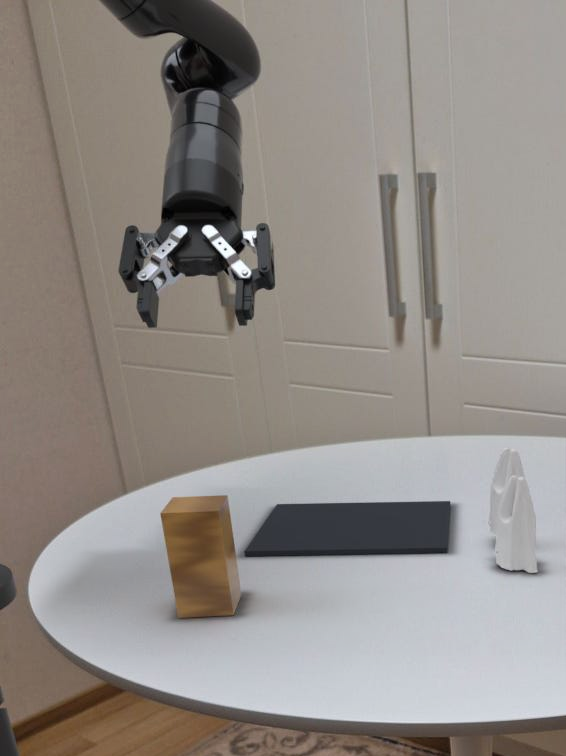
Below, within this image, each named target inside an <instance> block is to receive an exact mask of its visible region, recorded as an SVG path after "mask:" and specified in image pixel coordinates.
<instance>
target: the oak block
mask: <svg viewBox="0 0 566 756" xmlns="http://www.w3.org/2000/svg"><path fill="white" fill-rule="evenodd" d="M160 519H161V520H160V521H161V527H162V532H163V537H164V543H165V549H166V554H167V560H168V566H169V572H170V577H171V583H172V584H171V585H172V590H173V596H174V601H175V606H176V607H175V608H176V612H177V618H178V619H189V618H206V617H225V616H226V617H227V616H234V615H235V613H236V610H237V607H238V604H239V602H240V599H241V597H242V590H241V583H240V577H239V576H240V575H239V567H238V559H237V554H236V553H237V552H236V546H235V539H234V532H233V524H232V517H231V510H230V504H229V496H228V494H224V495H222V494H220V495H199V496H197V495H196V496H194V495H193V496H173V497H172V498H171V499H170V500H169V502H168V503H167V504H166V505H165V506H164V508H163V509H162V510H161V512H160Z"/></svg>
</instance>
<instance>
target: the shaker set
mask: <svg viewBox="0 0 566 756" xmlns="http://www.w3.org/2000/svg"><path fill="white" fill-rule="evenodd" d="M489 497H490V499H489V517H488V522H487V524H488V526H489V532H490V533H491V534H492V536H493V537H494V538H495V545H494V551H493V554H494V555H495V563H496V565H498V566H499V567H500V568H502V569H503V570H504V569H505V570H508V571H515V572H516V571H522V570H523V571H525V572H527V574H536V573H538V572H539V571H538V563H537V554H536V544H537V543H536V542H537V541H536V539H537V536H536V535H537V534H536V533H537V517H536V511H535V508H534V504H533V499H532V495H531V491H530V487H529V484H528V481H527V480H526V475H525V470H524V467H523V463H522V459H521V455H520V452H519V451H518V449H516V448H510V447H504V448H503V450H502V451H501V453H500V455H499V458H498V459H497V462H496V466H495V468H494V471H493V476H492V479H491V484H490V496H489Z"/></svg>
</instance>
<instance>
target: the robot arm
mask: <svg viewBox="0 0 566 756" xmlns="http://www.w3.org/2000/svg"><path fill="white" fill-rule="evenodd" d="M98 1H99V3H100V4H101V5H102V6H103V7H104V8H106V10H107V11H108V12H109V13H110V14H111V15H112V16H113V17H114V18H115V19H116V20H117V21H118V22H119V23H120V24H121V25H122V26H123V27H124V28H125V29H126V30H127V31H129V33H131V34H132V35H133V36H135V37H136V38H137V39H138V38H139V39H141V40H149V39H152V38H156V37H159V36H162V35H165V34H176V35H178V36H181V38H180V39H178V41H176V42H175V43H174V44H172V45H171V46H169V48H168V49H167V51H166V52H165V53H164V56H163V58H162V61H161V65H160V69H159V70H160V71H159V72H160V73H159V74H160V80H161V83H162V86H163V91H164V94H165V98H166V102H167V103H166V104H167V105H168V109H169V113H170V116H171V121H170V133H169V145H168V148H167V152H166V155H165V156H166V157H165V161H164V162H165V163H164V174H163V186H162V187H163V188H162V197H161V198H162V199H161V212H160V224H159V226H158V228H157V229H156V230H155V232H140V231H139V228H138V226H136V225H135V224H133V225H128V226H127V227H125V229H124V236H123V241H122V248H121V252H120V257H119V258H120V259H119V264H118V269H117V270H118V271H117V272H118V274H119V276H120V278H121V280H122V282H123V285H124V287H125V288H126V290H127V292H128V293H130V294H136V293H137V297H136V307H135V308H136V310H137V313H138V315H139V317H140V319H141V321H142V323H145V324H146V326H147V328H148V329H155V328H157V327H158V317H159V305H160V297H159V294H161V292H162V291H163V290H164V289H166V288H167V286H170V287H171V286H172V287H173V285H174V284H175V283H177V281H178V280H179V279H181V277H182V276H183V275H184V277H187V278H188V277H192V278H193V277H198V276H201V275H203V276H207V277H218V274H220V273H223V274H224V275H225V276H226V277H227V278H228V279H229V281H231V282H232V284H233V285H235V296H234V314H235V318H236V321H237V323H238V326H239V327H247V326H248V321H252V320H253V318H254V316H255V302H256V294H257V292H258V291H259V290H262V289H264V290H265V291H271V290H274V289H275V287H276V271H275V251H274V250H275V248H274V242H273V238H272V233H271V231H270V227H269V225H268V223H266V222H261V223H258V224H257V225H256V227H255V230H242V216H243V215H242V214H243V212H242V211H243V196H244V192H245V191H244V190H245V183H244V170H243V162H242V155H243V154H242V152H243V122H242V117H241V113H240V110H239V108H238V107H237V105H236V103H235V102H234V100H235V99H236V98H238V97H240V96H241V95H243V94H244V93H245V92H246V91H248V90H249V89H250V88H252V87H253V86H254V85H256V83H257V82H258V80H259V78H260V77H261V73H262V59H261V55H260V50H259V49H258V45H257V44H256V41H255V39H254V38H253V36H252V35H251V33H250V32H249V31H248V29H247V28H246V27H245V26H244V24H243V23H242V22H241V21H240V20H238V19H237V18H236V17H235V15H233V14H231V13H230V12H229V11H228V10H226V9H225V8H223V7H222V6H221V5H219V4H218V3H216V2H215V1H213V0H98ZM246 246H248V247H249V248H250V249H251V252H252V253H253V254H256V256H257V257H256V258H257V267H256V268H254V269H250V268H249V267H248V266H247V264H246V263H244V262H243V260H242V259H241V257H240V255H241V253H242V252H243V251H244V250H245V249H246ZM153 249H155V250H153ZM152 250H153V252H152ZM151 252H152V253H151ZM149 258H150V260H149V262H147V263H146V265H144V264H145V260H148V259H149ZM168 263H170V265H171V266H169V264H168Z"/></svg>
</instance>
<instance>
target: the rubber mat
mask: <svg viewBox="0 0 566 756" xmlns="http://www.w3.org/2000/svg"><path fill="white" fill-rule="evenodd" d="M450 516H451V501H450V500H432V501H430V500H429V501H427V500H426V501H425V500H424V501H380V502H377V501H374V502H372V501H371V502H369V501H368V502H323V503H321V502H320V503H319V502H317V503H315V502H314V503H313V502H312V503H277V504H275V506H274V508H273V509H272V511H271V512H270V513H269V515H268V516H267V518H266V519H265V521H264V522H263V524H262V525H261V526H260V528H259V529H258V531H257V532H256V534H255V535H254V537H253V538H252V539H251V540H250V542H249V543H248V545H247V546H246V548H245V550H244V551H243V552H244V557H271V556H272V557H274V556H275V557H277V556H279V557H280V556H282V557H283V556H284V557H285V556H286V557H287V556H332V555H334V556H338V555H339V556H340V555H389V554H390V555H393V554H396V555H397V554H398V555H399V554H444V553H448V548H449V533H450V519H451V517H450Z"/></svg>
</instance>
